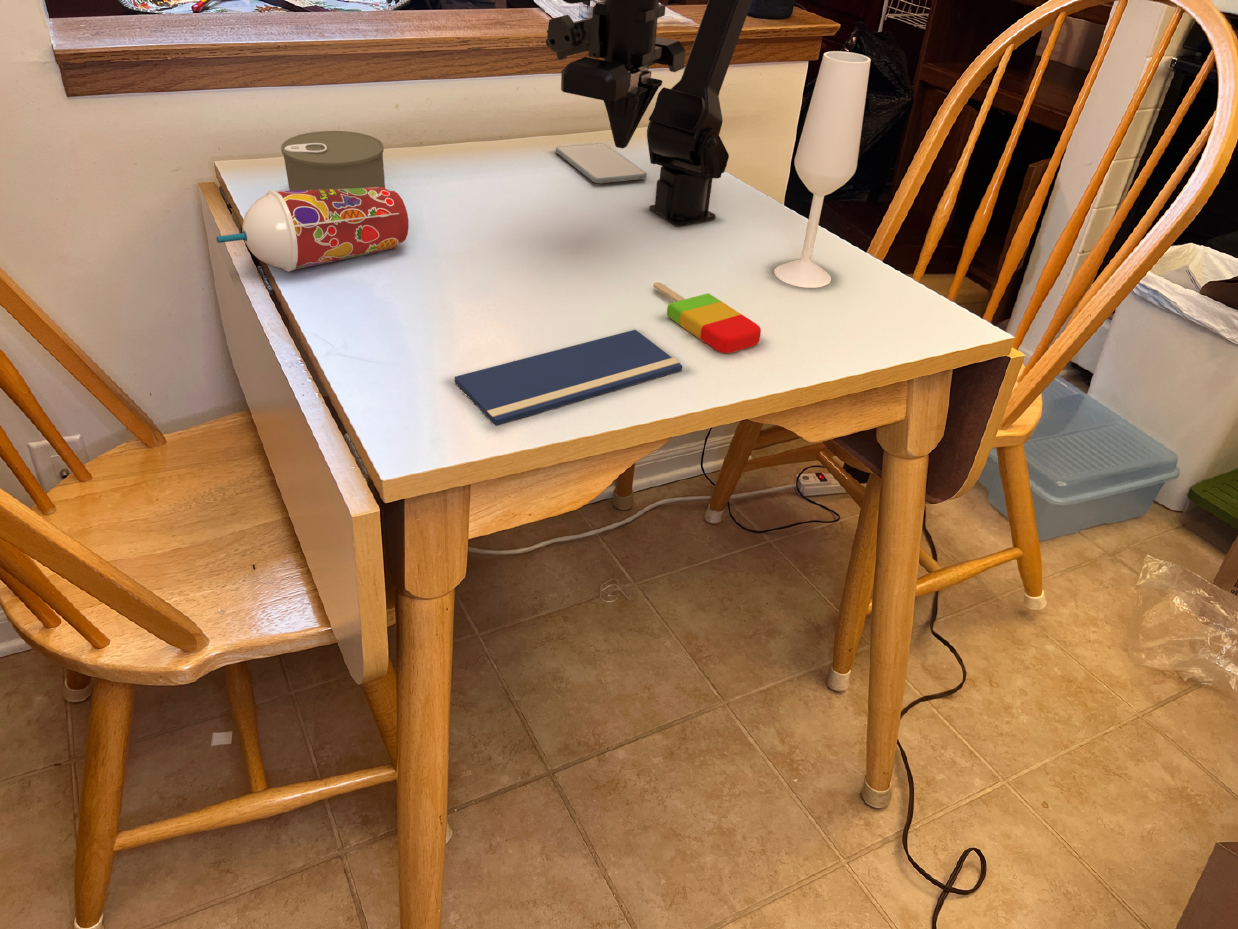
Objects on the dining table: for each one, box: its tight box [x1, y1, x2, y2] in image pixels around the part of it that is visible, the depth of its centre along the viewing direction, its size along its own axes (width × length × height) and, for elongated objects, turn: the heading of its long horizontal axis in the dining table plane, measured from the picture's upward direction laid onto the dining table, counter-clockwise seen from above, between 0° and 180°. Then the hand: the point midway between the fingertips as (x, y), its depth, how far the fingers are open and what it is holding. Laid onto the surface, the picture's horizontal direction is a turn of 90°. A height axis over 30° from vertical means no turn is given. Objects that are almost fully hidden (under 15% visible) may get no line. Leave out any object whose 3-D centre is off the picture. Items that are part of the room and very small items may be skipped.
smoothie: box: [215, 187, 410, 273], centre depth 98 cm, size 8×8×20 cm
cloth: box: [454, 329, 683, 426], centre depth 85 cm, size 20×8×1 cm, turn 124°
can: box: [280, 130, 386, 191], centre depth 113 cm, size 12×12×7 cm
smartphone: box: [555, 142, 648, 184], centre depth 132 cm, size 8×1×15 cm
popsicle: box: [653, 281, 762, 354], centre depth 95 cm, size 6×15×2 cm, turn 35°
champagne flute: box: [773, 50, 872, 289], centre depth 100 cm, size 7×7×24 cm
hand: (620, 147), depth 102 cm, fingers closed
